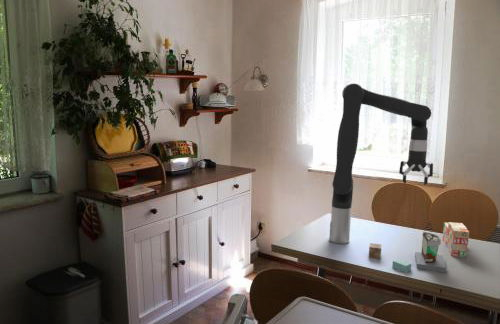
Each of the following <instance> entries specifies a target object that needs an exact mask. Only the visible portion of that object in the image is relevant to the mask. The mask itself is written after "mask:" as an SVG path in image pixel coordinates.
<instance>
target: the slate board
mask: <svg viewBox="0 0 500 324" xmlns="http://www.w3.org/2000/svg"><path fill="white" fill-rule="evenodd" d="M414 258H415V259H414V260H415V263H416V264H415V265H416V269H419V270H427V271H433V272H440V273H446V272H447V265H446V263H445V259H444V256H443V254H437V257H436V261H435V262H433V263H425V261H424V259H423V257H422V251H421V252H420V251H415V253H414Z"/></svg>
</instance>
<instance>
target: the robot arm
mask: <svg viewBox="0 0 500 324" xmlns="http://www.w3.org/2000/svg"><path fill="white" fill-rule="evenodd" d="M341 93H342V98H343V104H342V105H343V107H342V109H343V110H342V117H341V121H340V124H339V128H338V132H337V133H338V134H337V142H336V165H335V171H334V176H333V180H332V188H333V190H332V199H331V213H330V214H331V215H330V223H329V237H328V239H329V240H328V241H329V242H331V243H332V242H333V243H335V244H341V245H343V244H344V245H345V244H348V243H349V242H350V236H351V235H350V234H351V233H350V232H351V219H352V204H353V194H354V191H353V190H354V179H353V164H354V162H355V161H354V160H355V158H356V154H357V153H356V152H357V148H358V143H359V135H360V134H359V131H360V113H361V107H362V105H366V106H369V107H374V108H375V109H379V110H382V111H384V112H386V113H387V112H388V113H390V114H394V115H398V116H403V117H407V118H410V122H411V131H410V140H409V144H408V156H407V157H408V158H407V161H405V160H401V161H400V165H399V169H398V170H399V174H400V175H402V182H403V184H406V183H407V176H408V174H409V173H410V172H411V171H412V172H418V173H419V172H422V174H423V175H424V177H423V186H426V185H428V182H429V181H428V180H429V177H433V176H434V163H433V162H427V151H428V136H429V135H428V134H429V131H428V130H429V129H428V127H427V124H428V123H427V122H428V120H429V119H431V116H432V110H431V108H430V107H428V106H426V105H424V104H419V103H415V102H410V101H408V100H405V99H402V98H397V97H395V96H390V95H385V94H380V93H378V92H377V93H376V92H373V91H371V90H368V89H366V88H364V87H362V86H361V85H360V84H359V83H354V82H353V83H349V84H346V86H344V88H343V90H342V92H341ZM406 165H407V168H406V170H405V171H403V169H404V167H405V166H406ZM426 167H427V168H428V169H429V173H428V172H426V170H425V168H426Z"/></svg>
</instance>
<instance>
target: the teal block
mask: <svg viewBox="0 0 500 324" xmlns="http://www.w3.org/2000/svg"><path fill="white" fill-rule="evenodd" d="M392 268H393V269H395V270H398V271H401V272H403V273H407V272H409V271H412V263H411V262H409V261H405V260H403V259H400V258H397V259H395V260H392Z"/></svg>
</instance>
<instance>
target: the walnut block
mask: <svg viewBox="0 0 500 324" xmlns="http://www.w3.org/2000/svg"><path fill="white" fill-rule="evenodd" d="M381 255H382V244H380V243H371V242H370V243H369V248H368V258H369V259H376V260H381V257H382V256H381Z"/></svg>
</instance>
